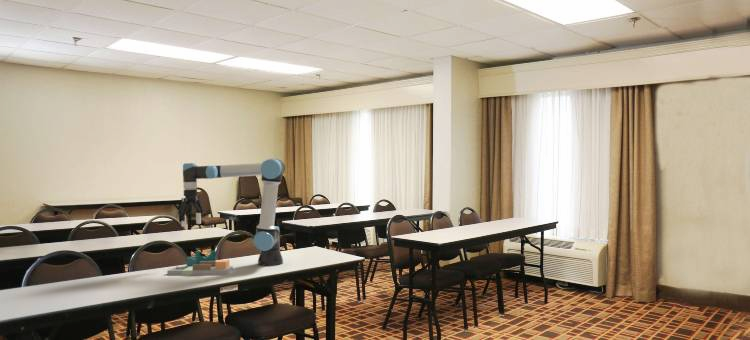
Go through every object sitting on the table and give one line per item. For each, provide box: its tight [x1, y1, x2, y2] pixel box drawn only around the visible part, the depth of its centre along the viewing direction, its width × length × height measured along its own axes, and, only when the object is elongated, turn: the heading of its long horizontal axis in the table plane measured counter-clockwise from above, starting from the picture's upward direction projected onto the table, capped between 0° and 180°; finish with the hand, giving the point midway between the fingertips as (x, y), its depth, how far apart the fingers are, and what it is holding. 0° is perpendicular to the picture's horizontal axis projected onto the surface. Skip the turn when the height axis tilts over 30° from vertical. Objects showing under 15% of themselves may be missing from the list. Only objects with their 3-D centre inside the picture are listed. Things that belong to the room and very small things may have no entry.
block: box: [215, 259, 230, 269], centre depth 301 cm, size 6×6×4 cm
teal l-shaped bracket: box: [186, 250, 216, 266], centre depth 320 cm, size 18×11×10 cm, turn 37°
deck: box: [166, 260, 234, 276], centre depth 301 cm, size 34×12×6 cm, turn 87°
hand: (191, 225), depth 312 cm, fingers open, 13 cm apart
